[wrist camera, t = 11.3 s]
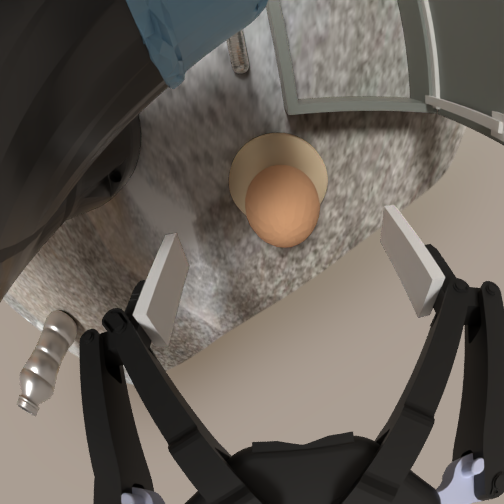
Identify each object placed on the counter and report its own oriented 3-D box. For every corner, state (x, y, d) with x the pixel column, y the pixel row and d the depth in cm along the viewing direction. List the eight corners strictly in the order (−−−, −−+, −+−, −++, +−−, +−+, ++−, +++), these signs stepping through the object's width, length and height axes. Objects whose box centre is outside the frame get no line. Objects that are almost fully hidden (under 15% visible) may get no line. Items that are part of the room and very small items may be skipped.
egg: (258, 145, 22) (257, 182, 16) (320, 165, 23) (345, 210, 16) (239, 202, 26) (231, 257, 19) (297, 218, 26) (309, 276, 20)
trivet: (239, 224, 29) (239, 231, 28) (220, 140, 23) (219, 144, 22) (326, 214, 27) (329, 220, 26) (321, 127, 22) (323, 130, 21)
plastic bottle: (64, 303, 38) (17, 402, 22) (87, 328, 42) (50, 424, 26) (46, 307, 40) (3, 395, 24) (68, 330, 43) (33, 417, 27)
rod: (234, 74, 20) (232, 75, 19) (211, -32, 13) (209, -37, 12) (250, 72, 20) (250, 72, 18) (227, -35, 13) (226, -40, 12)
